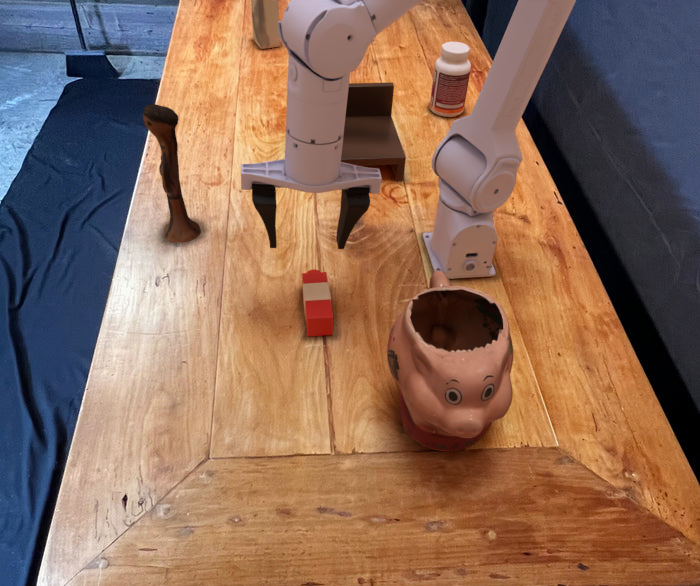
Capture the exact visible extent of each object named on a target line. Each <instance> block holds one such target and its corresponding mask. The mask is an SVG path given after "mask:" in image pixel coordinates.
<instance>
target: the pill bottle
mask: <svg viewBox="0 0 700 586" xmlns="http://www.w3.org/2000/svg"><path fill="white" fill-rule="evenodd" d="M440 55H441V56H439V57H438V58H437V60H435V63H434V69H433V78H432V85H431V92H430V99H429V100H430V101H429V109H430V111H431V112H432V113H433V114H435V115H436V116H440V117H444V118H453V117H458V116H460V115H461V114H463V112H464V110H465V104H466V99H467V93H468V89H469V82H470V75H471V71H472V70H471V69H472V64H471V61H470V60H469V59H468V58H469V56H470V46H469V45H468V44H466V43H463V42H460V41H446V42H444V43H443V44H442V45H441V50H440Z"/></svg>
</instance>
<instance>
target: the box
mask: <svg viewBox="0 0 700 586" xmlns="http://www.w3.org/2000/svg"><path fill="white" fill-rule="evenodd" d="M250 6H251V22H252V23H251V24H252V25H251V26H252V39H253V41H254V43H255V44H256V45H257V47H258V48H259V49H261V50H264V49H271V48H272V49H274V48H279V47H280V46H281V39H280V37H279V34H278V28H277V23H278V21H280V1H279V0H250Z"/></svg>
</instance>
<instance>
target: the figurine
mask: <svg viewBox="0 0 700 586" xmlns="http://www.w3.org/2000/svg"><path fill="white" fill-rule="evenodd" d="M142 115H143V124H144V127H145V128H146V129H147V130H148V131H149V132H150V133H151V134H152V135H153V136H154V137H155V139H156V140H157V143H158V146H159V148H160V152H161V155H160V164H159V167H158V168H159V171H158V172H159V174H160V176H161V182H162V183H161V184H162V188H163V191H164V193H165V194H166V198H167V205H168V209H169V221H168V223H167V224H166V226H165V227H164V229H163V235H164V238H165V239H166V240H167V241H169V242H172V243H177V242H183V243H184V242H190V241H193V240H194V239H197V237H199V236H200V235H201V233H202V229H201V226H200V224H199V223H198V222H196V221H195V220H193V219H191V218H190V217H189V215H188V211H187V208H186V204H185V200H184V196H183V192H182V187H181V181H180V165H179V155H178V151H179V145H178V139H177V134H176V129H177V125H179V115H178V114H177V113H176V111H175V110H174V109H172V108H170V107H168V106H164V105H160V104H156V103H151V102H150V103H148V104H146V105H145V106H144V108H143V112H142Z"/></svg>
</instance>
